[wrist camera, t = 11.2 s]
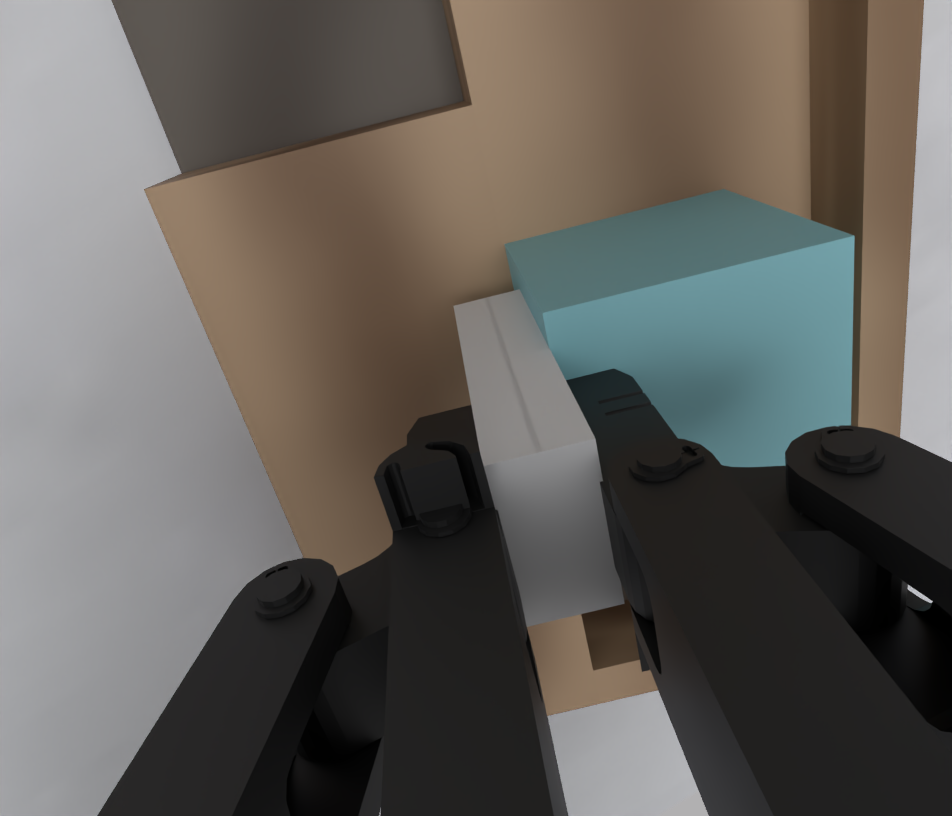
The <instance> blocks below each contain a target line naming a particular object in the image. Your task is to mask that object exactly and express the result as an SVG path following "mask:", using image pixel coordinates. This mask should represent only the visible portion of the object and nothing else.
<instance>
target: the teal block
mask: <svg viewBox="0 0 952 816" xmlns="http://www.w3.org/2000/svg"><path fill="white" fill-rule="evenodd" d="M854 240H855V236H854V235H851V234H848V233H846V232H843V231H840V230H837V229H834V228H832V227H829V226H826V225H823V224H820V223H818V222H815V221H812V220H809V219H806V218H804V217H801V216H798V215H795V214H792V213H790V212H787V211H784V210H781V209H778V208H776V207H773V206H770V205H767V204H765V203H762V202H759V201H756V200H753V199H751V198H748V197H745V196H742V195H739V194H737V193H734V192H731V191H728V190H725V189H722V190H718V191H714V192H710V193H706V194H702V195H698V196H694V197H690V198H686V199H682V200H678V201H674V202H670V203H666V204H662V205H658V206H654V207H650V208H646V209H642V210H638V211H634V212H630V213H626V214H622V215H618V216H614V217H610V218H606V219H602V220H598V221H594V222H590V223H586V224H582V225H578V226H574V227H570V228H566V229H562V230H558V231H554V232H550V233H546V234H542V235H538V236H534V237H530V238H526V239H522V240H518V241H514V242H510V243H506V244H504V245H505V250H506V255H507V259H508V264H509V269H510V274H511V278H512V283H513V288H514V291H515V290H518V289H520V291H521V293H522V295H523V297H524V299H525V301H526V303H527V305H528V307H529V309H530V311H531V313H532V315H533V317H534V319H535V321H536V323H537V325H538V327H539V329H540V331H541V333H542V335H543V337H544V339H545V341H546V343H547V345H548V347H549V348H550V350H551V352H552V354H553V356H554V358H555V360H556V362H557V364H558V366H559V368H560V370H561V372H562V374H563V376H564V378H565V380H569V379H573V378H577V377H581V376H585V375H589V374H593V373H597V372H601V371H605V370H610V369H616V370H619V371H621V372H623V373H625V374H628V375H630V376H632V377H633V378H634V379H635V381H636V382H637V383H638V385H639V386H640V388H641V389H642V390H643V393H645V394H646V396H647V397H648V398H649V400H650V401H651V404H652V405H654V407H655V408H656V409H657V411H658V412H659V413H660V415H661V416H662V417H663V419H664V420H665V421H666V423H667V424H668V426H669V427H670V428H671V430H672V431H673V432H674V434H675V435H676V436H677V438H678V439H686V440H689V441H692V442H695V443H698V444H701V445H702V446H704V447H705V448H706V449H707V450H709V451H710V452H711V453H712V454H713V455H714V456H715V457H716V459H717V460H718V461H719V462H720V464H721V465H724V466H730V467H766V466H785V452H786V450H787V448H788V446H789V445H790V443H791V441H793V440H794V439H796V438H798V437H799V436H801V435H802V434H804V433H806V432H809V431H813V430H817V429H820V428H824V427H831V426H839V425H851V397H852V344H853V292H854Z"/></svg>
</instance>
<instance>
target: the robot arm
mask: <svg viewBox="0 0 952 816" xmlns="http://www.w3.org/2000/svg"><path fill="white" fill-rule="evenodd" d="M454 312H455V317H456V323H457V328H458V334H459V340H460V345H461V351H462V356H463V362H464V367H465V373H466V378H467V384H468V389H469V395H470V400H471V405H468V406H464V407H460V408H456V409H452V410H448V411H444V412H440V413H436V414H432V415H428V416H424V417H420V418H418V419H417V421H416V422H415V424H414V425H413V427H412V428H411V429H410V431H409V432H408V434H407V445H406V446H404V447H403V448H401V449H399V450H397V451H396V452H394V453H392V454H390V455H389V456H388V457H387V458H386V459H385V460H384V461H383V462H382V463H381V464H380V465H379V466H378V468H377V471H376V473H375V476H374V480H375V483H376V486H377V489H378V491H379V494H380V497H381V500H382V503H383V505H384V508H385V511H386V514H387V517H388V519H389V522H390V525H391V528H392V531H393V539H392V545H391V546H390V547H389V548H387V549H386V550H385V551H383V552H382V553H381V554H380V555H378V556H377V557H375V558H373V559H371V560H370V561H368V562H366V563H364V564H362V565H360V566H358V567H356V568H354V569H352V570H350V571H348V572H346V573H343V574H341V575H339V576H338V575H337V573H336V571H335V569H334V566H333V565H331V564H329V563H327V562H326V561H324V560H322V559H313V558H302V559H297V560H292V561H288V562H284V563H282V564H279V565H277V566H275V567H272V568H270V569H268V570H266V571H264V572H263V573H262V574H260V575H259V576H257V577H256V578H255V579H253V580H252V581H251V582H249V583H248V584H247V585H246V586H245V587H244V588H243V589H242V591H241V592H240V593H239V594H238V595H237V596H236V598H235V599H234V600H233V602H232V603H231V605H230V606H229V608H228V610H227V611H226V613H225V614H224V616H223V618H222V619H221V621H220V622H219V624H218V625H217V627H216V629H215V630H214V632H213V633H212V635H211V637H210V638H209V640H208V641H207V643H206V644H205V646H204V648H203V649H202V651H201V652H200V654H199V656H198V657H197V659H196V660H195V662H194V663H193V665H192V667H191V668H190V670H189V671H188V673H187V675H186V676H185V678H184V679H183V681H182V682H181V684H180V686H179V687H178V689H177V690H176V692H175V694H174V695H173V697H172V698H171V700H170V701H169V703H168V705H167V706H166V708H165V709H164V711H163V713H162V714H161V716H160V717H159V719H158V720H157V722H156V724H155V725H154V727H153V728H152V730H151V732H150V733H149V735H148V736H147V738H146V739H145V741H144V743H143V744H142V746H141V747H140V749H139V751H138V752H137V754H136V755H135V757H134V759H133V760H132V762H131V763H130V765H129V766H128V768H127V770H126V771H125V773H124V774H123V776H122V778H121V779H120V781H119V782H118V784H117V785H116V787H115V789H114V790H113V792H112V793H111V795H110V797H109V798H108V800H107V801H106V803H105V804H104V806H103V808H102V809H101V811H100V812H99V814H98V816H379V812H380V808H381V816H568V812H567V808H566V803H565V798H564V793H563V789H562V784H561V779H560V774H559V770H558V765H557V760H556V755H555V751H554V746H553V741H552V737H551V732H550V727H549V722H548V718H547V713H546V708H545V703H544V699H543V694H542V689H541V684H540V680H539V675H538V670H537V665H536V661H535V656H534V652H533V648H532V645H531V641H530V637H529V634H528V630H527V627H529V626H533V625H537V624H541V623H546V622H550V621H554V620H558V619H562V618H566V617H571V616H575V615H580V614H584V613H588V612H592V611H596V610H600V609H605V608H609V607H613V606H617V605H621V604H625V603H624V597H623V592H622V586H623V588H624V590H625V593H626V595H627V598H628V600H629V602H630V606H631V612H632V618H633V624H634V630H635V635H636V641H637V647H638V653H639V659H640V664H641V670H642V672H644V671H648V670H651V673H652V675H653V678H654V680H655V683H656V685H657V688H658V690H659V693H660V695H661V698H662V700H663V703H664V705H665V708H666V710H667V713H668V715H669V718H670V720H671V723H672V725H673V728H674V730H675V733H676V735H677V738H678V740H679V742H680V745H681V747H682V750H683V752H684V755H685V757H686V760H687V762H688V765H689V767H690V770H691V772H692V775H693V777H694V780H695V782H696V785H697V787H698V790H699V792H700V794H701V797H702V800H703V802H704V805H705V807H706V810H707V812H708V815H709V816H952V462H950V461H948V460H946V459H944V458H942V457H939V456H937V455H935V454H933V453H931V452H929V451H927V450H925V449H922V448H920V447H918V446H916V445H914V444H912V443H910V442H908V441H905V440H903V439H901V438H899V437H897V436H895V435H892V434H889V433H886V432H883V431H880V430H877V429H873V428H865V427H857V426H851V425H839V426H831V427H824V428H820V429H817V430H813V431H809V432H806V433H804V434H802V435H801V436H799V437H798V438H796V439H794V440H793V441H791V443H790V445H789V446H788V448H787V450H786V452H785V466H766V467H730V466H724V465H721V464H720V462H719V461H718V460H717V459H716V457H715V456H714V455H713V454H712V453H711V452H710V451H709V450H707V449H706V448H705V447H704V446H702V445H701V444H698V443H695V442H692V441H689V440H686V439H678V438H677V436H676V435H675V434H674V432H673V431H672V430H671V428H670V427H669V426H668V424H667V423H666V421H665V420H664V419H663V417H662V416H661V415H660V413H659V412H658V411H657V409H656V408H655V407H654V405H652V404H651V401H650V400H649V398H648V397H647V396H646V394H645V393H643V390H642V389H641V388H640V386H639V385H638V383H637V382H636V381H635V379H634V378H633V377H632V376H630V375H628V374H625V373H623V372H621V371H619V370H616V369H610V370H605V371H601V372H597V373H593V374H589V375H585V376H581V377H577V378H573V379H569V380H565V378H564V376H563V374H562V372H561V370H560V368H559V366H558V364H557V362H556V360H555V358H554V356H553V354H552V352H551V350H550V348H549V347H548V345H547V343H546V341H545V339H544V337H543V335H542V333H541V331H540V329H539V327H538V325H537V323H536V321H535V319H534V317H533V315H532V313H531V311H530V309H529V307H528V305H527V303H526V301H525V299H524V297H523V295H522V293H521V291H520V289H518V290H515V291H511V292H507V293H503V294H499V295H495V296H491V297H487V298H483V299H479V300H475V301H471V302H467V303H463V304H459V305H455V306H454ZM621 583H622V586H621ZM908 585H910V586H911V587H913V588H914V589H916V590H917V591H919V592H920V593H922V594H923V595H925V596H926V597H928V598H929V599H930V600H932V601H933V602H932V603H929V602H927V601H925V600H923V599H921V598H919V597H918V596H916V595H915V594H913V593H912V592H910V591H909V590H908V589H907V587H908Z"/></svg>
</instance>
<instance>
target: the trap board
mask: <svg viewBox="0 0 952 816" xmlns="http://www.w3.org/2000/svg"><path fill="white" fill-rule="evenodd" d="M112 3H113V5H114V8H115V10H116V12H117V15H118V17H119V20H120V22H121V25H122V27H123V30H124V32H125V35H126V37H127V40H128V42H129V44H130V47H131V49H132V52H133V54H134V57H135V59H136V62H137V64H138V67H139V69H140V72H141V74H142V76H143V79H144V81H145V84H146V86H147V89H148V91H149V94H150V96H151V99H152V101H153V104H154V106H155V109H156V111H157V113H158V116H159V118H160V121H161V123H162V126H163V128H164V131H165V133H166V136H167V138H168V141H169V143H170V145H171V148H172V150H173V153H174V155H175V158H176V160H177V163H178V165H179V168H180V170H181V173H182V174H180V175H177V176H175V177H173V178H170V179H168V180H165V181H163V182H161V183H158V184H156V185H153V186H151V187H149V188H146V189H144V191H145V193H146V195H147V198H148V200H149V202H150V204H151V207H152V209H153V211H154V214H155V216H156V218H157V221H158V223H159V225H160V228H161V230H162V232H163V234H164V237H165V239H166V241H167V244H168V246H169V248H170V251H171V253H172V255H173V257H174V260H175V262H176V264H177V267H178V269H179V271H180V274H181V276H182V278H183V281H184V283H185V285H186V287H187V290H188V292H189V294H190V297H191V299H192V301H193V304H194V306H195V308H196V310H197V313H198V315H199V317H200V320H201V322H202V324H203V327H204V329H205V331H206V333H207V336H208V338H209V340H210V343H211V345H212V347H213V350H214V352H215V354H216V357H217V359H218V361H219V363H220V366H221V368H222V370H223V373H224V375H225V377H226V380H227V382H228V384H229V386H230V389H231V391H232V393H233V396H234V398H235V400H236V403H237V405H238V407H239V410H240V412H241V414H242V416H243V419H244V421H245V423H246V426H247V428H248V430H249V433H250V435H251V437H252V439H253V442H254V444H255V446H256V449H257V451H258V453H259V456H260V458H261V460H262V463H263V465H264V467H265V469H266V472H267V474H268V476H269V479H270V481H271V483H272V486H273V488H274V490H275V492H276V495H277V497H278V499H279V502H280V504H281V506H282V509H283V511H284V513H285V515H286V518H287V520H288V522H289V525H290V527H291V529H292V532H293V534H294V536H295V539H296V541H297V543H298V545H299V548H300V550H301V552H302V555H303V557H304V558H313V559H322V560H324V561H326V562H327V563H329V564H331V565H333V566H334V569H335V571H336V573H337V575H338V576H339V575H341V574H343V573H346V572H348V571H350V570H352V569H354V568H356V567H358V566H360V565H362V564H364V563H366V562H368V561H370V560H371V559H373V558H375V557H377V556H378V555H380V554H381V553H382V552H383V551H385V550H386V549H387V548H389V547H390V546H391V545H392V539H393V531H392V528H391V525H390V522H389V519H388V517H387V514H386V511H385V508H384V505H383V503H382V500H381V497H380V494H379V491H378V489H377V486H376V483H375V480H374V476H375V473H376V471H377V468H378V466H379V465H380V464H381V463H382V462H383V461H384V460H385V459H386V458H387V457H388V456H389V455H390V454H392V453H394V452H396V451H397V450H399V449H401V448H403V447H404V446H406V445H407V434H408V432H409V431H410V429H411V428H412V427H413V425H414V424H415V422H416V421H417V419H418V418H420V417H424V416H428V415H432V414H436V413H440V412H444V411H448V410H452V409H456V408H460V407H464V406H468V405H471V400H470V395H469V389H468V384H467V378H466V373H465V367H464V362H463V356H462V351H461V345H460V340H459V334H458V328H457V323H456V317H455V312H454V306H455V305H459V304H463V303H467V302H471V301H475V300H479V299H483V298H487V297H491V296H495V295H499V294H503V293H507V292H511V291H514V288H513V283H512V278H511V274H510V269H509V264H508V259H507V255H506V250H505V245H504V244H506V243H510V242H514V241H518V240H522V239H526V238H530V237H534V236H538V235H542V234H546V233H550V232H554V231H558V230H562V229H566V228H570V227H574V226H578V225H582V224H586V223H590V222H594V221H598V220H602V219H606V218H610V217H614V216H618V215H622V214H626V213H630V212H634V211H638V210H642V209H646V208H650V207H654V206H658V205H662V204H666V203H670V202H674V201H678V200H682V199H686V198H690V197H694V196H698V195H702V194H706V193H710V192H714V191H718V190H722V189H725V190H728V191H731V192H734V193H737V194H739V195H742V196H745V197H748V198H751V199H753V200H756V201H759V202H762V203H765V204H767V205H770V206H773V207H776V208H778V209H781V210H784V211H787V212H790V213H792V214H795V215H798V216H801V217H804V218H806V219H809V220H812V221H815V222H818V223H820V224H823V225H826V226H829V227H832V228H834V229H837V230H840V231H843V232H846V233H848V234H851V235H854V236H855V240H854V292H853V344H852V397H851V426H857V427H865V428H873V429H877V430H880V431H883V432H886V433H889V434H892V435H895V436H897V437H899V438H900V425H901V407H902V389H903V371H904V353H905V335H906V317H907V299H908V281H909V262H910V244H911V226H912V208H913V190H914V172H915V154H916V136H917V118H918V99H919V81H920V63H921V45H922V27H923V9H924V0H112ZM621 586H622V583H621ZM622 592H623V597H624V603H625V604H621V605H617V606H613V607H609V608H605V609H600V610H596V611H592V612H588V613H584V614H580V615H575V616H571V617H566V618H562V619H558V620H554V621H550V622H546V623H541V624H537V625H533V626H529V627H527V630H528V634H529V637H530V641H531V645H532V648H533V652H534V656H535V661H536V665H537V670H538V675H539V680H540V684H541V689H542V694H543V699H544V703H545V708H546V713H547V716H549V715H553V714H557V713H562V712H566V711H570V710H575V709H579V708H583V707H587V706H592V705H596V704H600V703H605V702H609V701H613V700H617V699H622V698H626V697H630V696H635V695H639V694H643V693H647V692H652V691H656V690H658V688H657V685H656V683H655V680H654V678H653V675H652V673H651V670H648V671H644V672H642V670H641V664H640V659H639V653H638V647H637V641H636V635H635V630H634V624H633V618H632V612H631V606H630V602H629V600H628V598H627V595H626V593H625V590H624V588H623V586H622Z"/></svg>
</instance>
